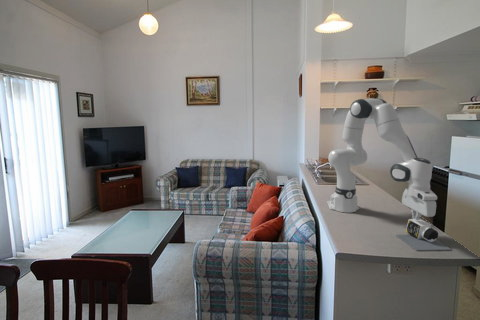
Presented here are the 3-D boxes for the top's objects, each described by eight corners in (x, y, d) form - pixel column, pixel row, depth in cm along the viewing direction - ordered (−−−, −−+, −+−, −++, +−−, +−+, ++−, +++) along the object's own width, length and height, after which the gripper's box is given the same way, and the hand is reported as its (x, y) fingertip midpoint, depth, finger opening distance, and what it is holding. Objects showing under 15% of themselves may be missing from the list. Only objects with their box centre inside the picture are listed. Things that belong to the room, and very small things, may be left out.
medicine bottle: (408, 219, 140) (430, 231, 129) (418, 217, 142) (441, 229, 132) (405, 232, 142) (427, 245, 131) (415, 230, 144) (438, 242, 134)
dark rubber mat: (395, 235, 141) (395, 234, 141) (427, 235, 142) (427, 234, 142) (416, 250, 126) (416, 249, 125) (451, 250, 126) (451, 249, 126)
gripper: (399, 186, 146) (397, 212, 148) (426, 197, 126) (423, 227, 128) (411, 186, 146) (409, 211, 148) (440, 197, 126) (436, 227, 128)
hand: (415, 219), depth 138 cm, fingers closed
